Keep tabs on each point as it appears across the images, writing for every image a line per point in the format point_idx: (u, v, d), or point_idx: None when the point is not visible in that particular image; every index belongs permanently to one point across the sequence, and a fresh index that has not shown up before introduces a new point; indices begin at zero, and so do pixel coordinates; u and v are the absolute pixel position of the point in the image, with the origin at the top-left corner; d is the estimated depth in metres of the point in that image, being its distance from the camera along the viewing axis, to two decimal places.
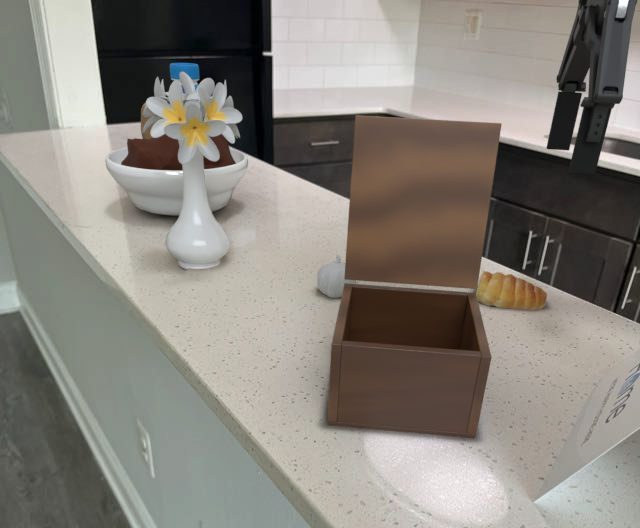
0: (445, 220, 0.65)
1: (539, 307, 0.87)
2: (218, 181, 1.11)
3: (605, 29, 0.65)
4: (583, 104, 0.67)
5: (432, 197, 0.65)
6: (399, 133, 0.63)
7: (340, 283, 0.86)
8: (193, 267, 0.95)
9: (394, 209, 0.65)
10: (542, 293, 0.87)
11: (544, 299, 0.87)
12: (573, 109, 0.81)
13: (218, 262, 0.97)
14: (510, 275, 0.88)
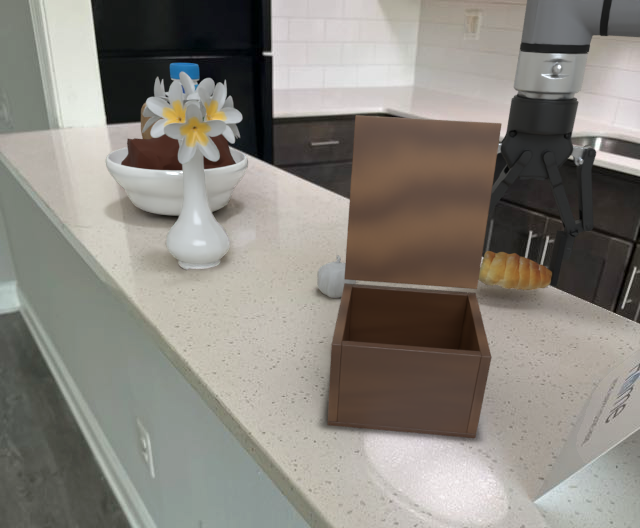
0: (445, 220, 0.65)
1: (544, 285, 0.85)
2: (218, 181, 1.11)
3: (589, 175, 0.79)
4: (576, 236, 0.82)
5: (432, 197, 0.65)
6: (399, 133, 0.63)
7: (340, 283, 0.86)
8: (193, 267, 0.95)
9: (394, 209, 0.65)
10: (547, 271, 0.85)
11: (549, 277, 0.85)
12: None
13: (218, 262, 0.97)
14: (514, 254, 0.87)
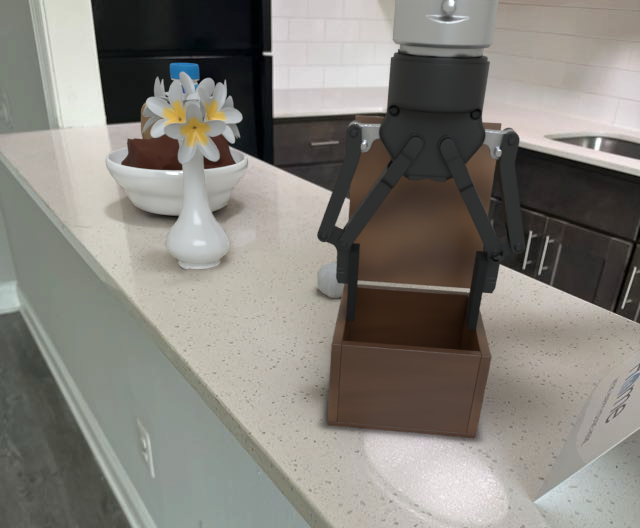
0: (445, 220, 0.65)
1: None
2: (218, 181, 1.11)
3: (513, 173, 0.53)
4: (500, 260, 0.56)
5: (432, 197, 0.65)
6: None
7: (340, 283, 0.86)
8: (193, 267, 0.95)
9: (394, 209, 0.65)
10: None
11: None
12: (358, 264, 0.60)
13: (218, 262, 0.97)
14: None
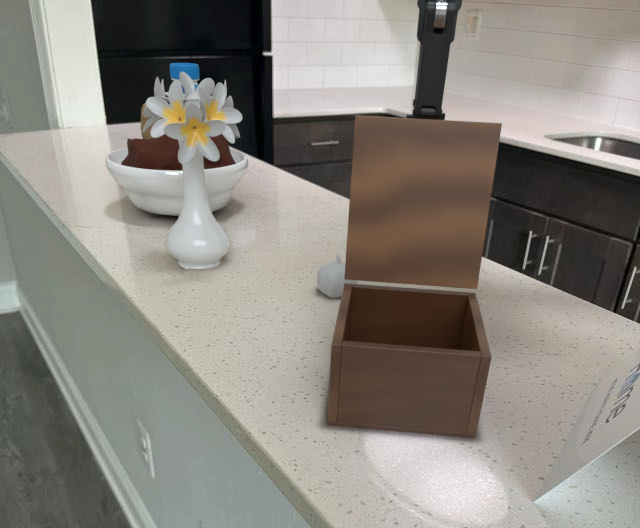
0: (445, 220, 0.65)
1: None
2: (218, 181, 1.11)
3: None
4: None
5: (432, 197, 0.64)
6: (399, 133, 0.62)
7: (340, 283, 0.86)
8: (193, 267, 0.95)
9: (394, 209, 0.65)
10: None
11: None
12: None
13: (218, 262, 0.97)
14: None
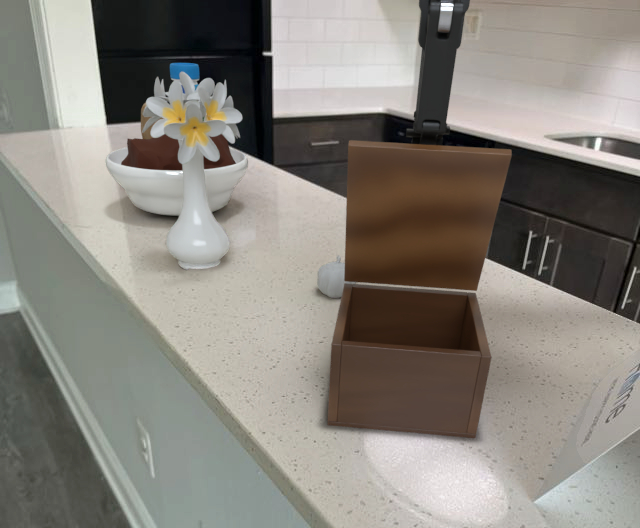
0: (446, 237, 0.63)
1: None
2: (218, 181, 1.11)
3: None
4: None
5: (433, 219, 0.61)
6: (397, 162, 0.57)
7: (340, 283, 0.86)
8: (193, 267, 0.95)
9: (393, 227, 0.62)
10: None
11: None
12: None
13: (218, 262, 0.97)
14: None
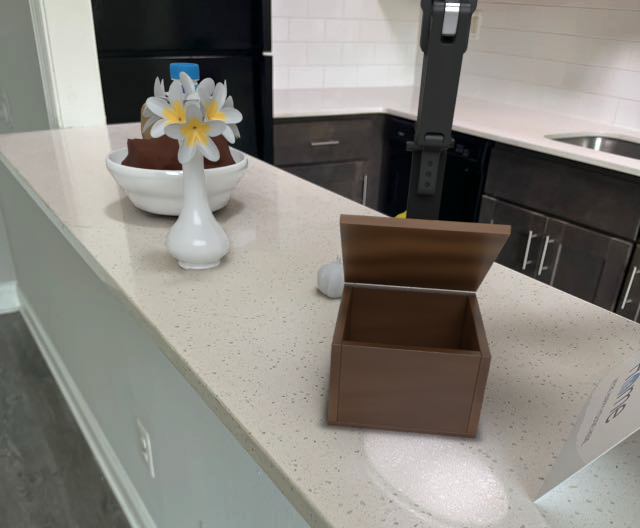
0: (444, 268, 0.62)
1: None
2: (218, 181, 1.11)
3: None
4: None
5: (430, 259, 0.60)
6: (391, 233, 0.54)
7: (340, 283, 0.86)
8: (193, 267, 0.95)
9: (390, 261, 0.61)
10: None
11: None
12: None
13: (218, 262, 0.97)
14: None
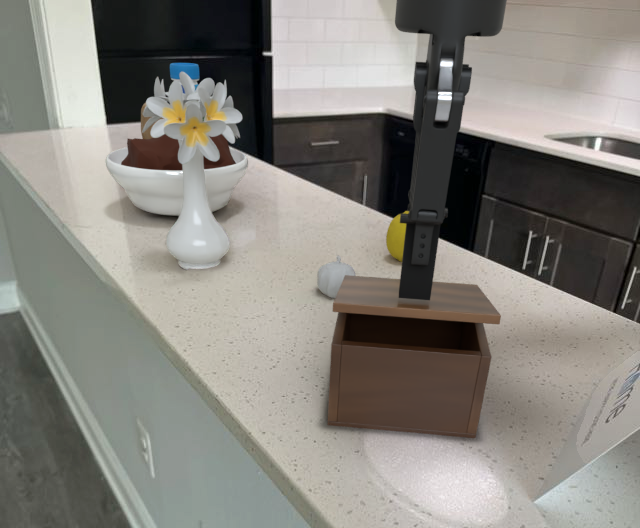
0: None
1: None
2: (218, 181, 1.11)
3: None
4: None
5: None
6: None
7: (340, 283, 0.86)
8: (193, 267, 0.95)
9: None
10: None
11: None
12: None
13: (218, 262, 0.97)
14: None
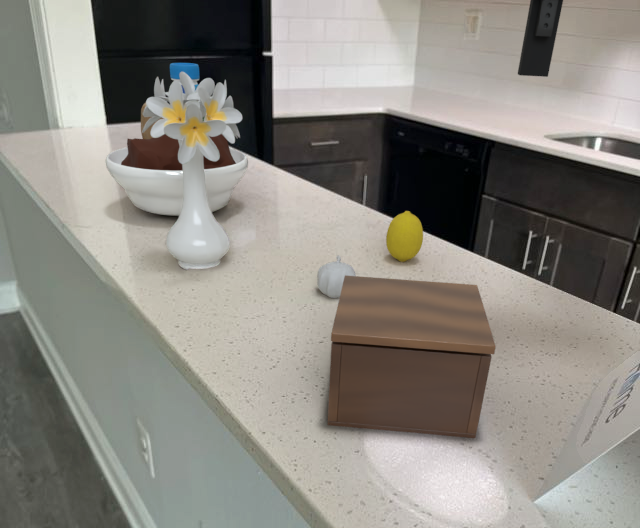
0: None
1: None
2: (218, 181, 1.11)
3: None
4: None
5: None
6: None
7: (340, 283, 0.86)
8: (193, 267, 0.95)
9: None
10: None
11: None
12: None
13: (218, 262, 0.97)
14: None
